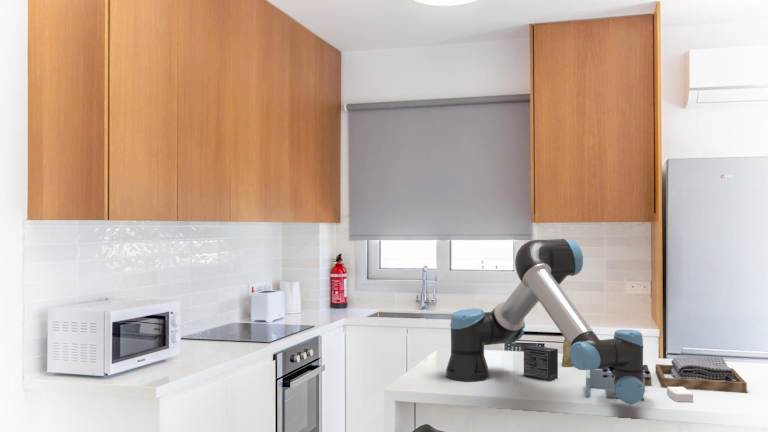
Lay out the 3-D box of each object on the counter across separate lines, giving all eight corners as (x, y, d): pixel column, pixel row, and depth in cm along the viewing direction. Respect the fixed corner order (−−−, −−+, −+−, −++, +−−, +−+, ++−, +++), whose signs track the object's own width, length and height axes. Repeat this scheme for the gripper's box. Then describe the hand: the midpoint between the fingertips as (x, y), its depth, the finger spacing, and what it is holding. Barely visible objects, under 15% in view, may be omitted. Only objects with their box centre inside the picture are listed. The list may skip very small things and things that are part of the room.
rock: (587, 356, 268) (561, 351, 270) (591, 341, 263) (564, 336, 265) (586, 377, 260) (559, 373, 262) (590, 363, 255) (562, 358, 257)
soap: (693, 403, 210) (693, 393, 210) (675, 402, 211) (675, 393, 211) (684, 395, 219) (684, 386, 219) (666, 395, 220) (666, 385, 220)
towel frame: (661, 387, 229) (661, 378, 229) (655, 372, 250) (655, 364, 250) (746, 392, 221) (746, 383, 221) (732, 377, 243) (732, 368, 243)
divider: (586, 396, 217) (586, 377, 217) (586, 386, 230) (586, 368, 230) (647, 401, 211) (647, 381, 211) (644, 390, 225) (644, 371, 225)
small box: (559, 378, 242) (559, 348, 242) (549, 381, 237) (549, 351, 237) (532, 373, 249) (532, 344, 249) (522, 376, 244) (522, 347, 244)
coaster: (606, 397, 215) (606, 396, 215) (605, 389, 226) (605, 388, 226) (644, 400, 212) (644, 399, 212) (641, 391, 223) (641, 390, 223)
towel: (669, 375, 246) (669, 353, 246) (725, 378, 242) (725, 356, 242) (678, 386, 232) (678, 362, 232) (737, 388, 228) (737, 365, 228)
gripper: (593, 389, 204) (593, 373, 227) (662, 394, 199) (655, 376, 221) (593, 364, 205) (592, 350, 227) (662, 368, 199) (655, 353, 221)
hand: (623, 363), depth 224 cm, fingers closed on beverage cup, 6 cm apart
